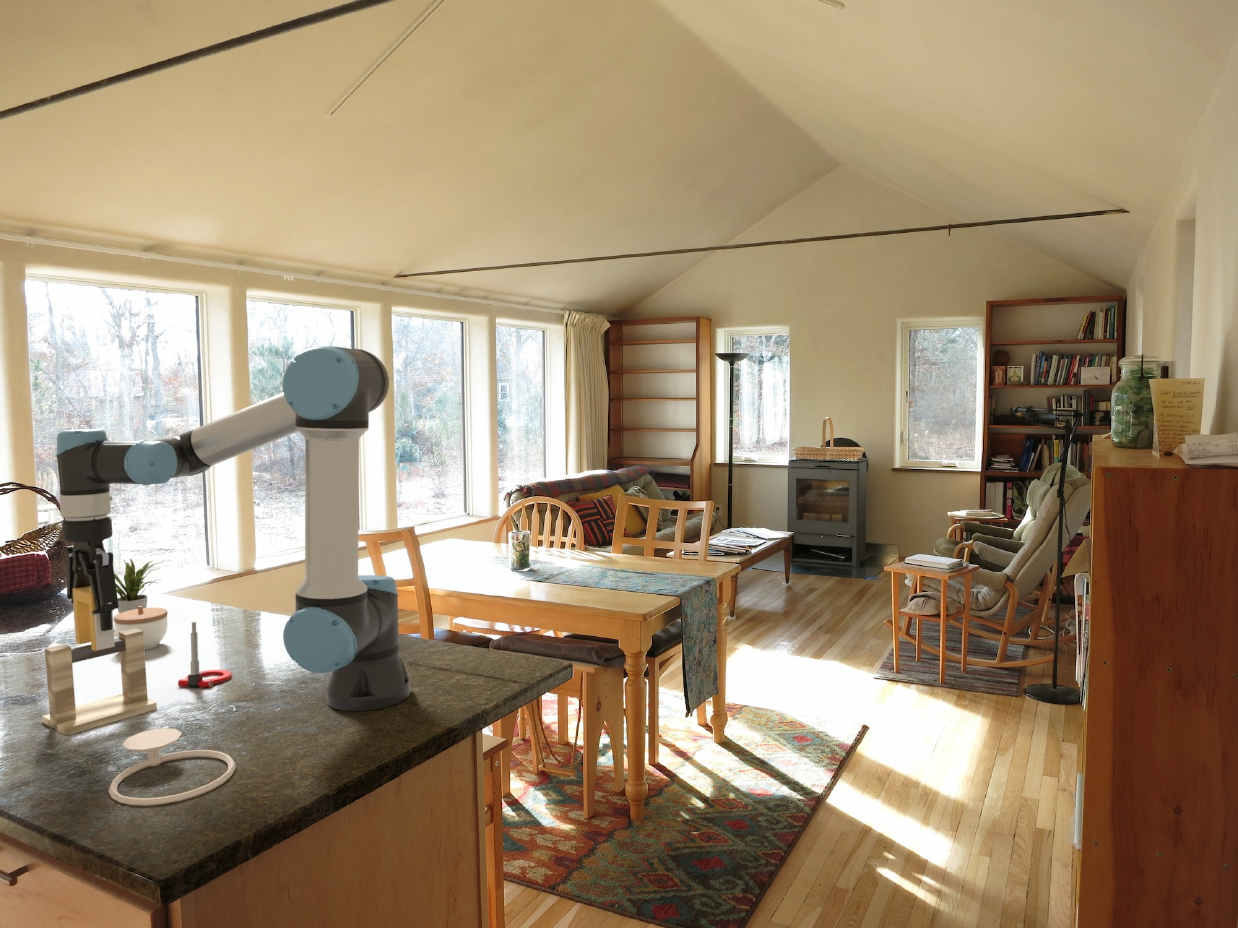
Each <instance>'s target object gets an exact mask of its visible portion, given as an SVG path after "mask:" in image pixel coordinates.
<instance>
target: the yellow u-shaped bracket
mask: <svg viewBox="0 0 1238 928" xmlns="http://www.w3.org/2000/svg"><path fill="white" fill-rule="evenodd" d="M73 602H74V604H73V605H74V608H73V618H74V617H75V623H74V633H75V632H76V638H75V642H76V644H78V645H83V644H87V643H90V645H91V648H92V650H94V651H97V650H96V637H95V621H94V614H93V613H92V611H94V610H96V607H95V602H94V594H92V590H91V586H86V587H81V588H73ZM101 650H102V649H101Z"/></svg>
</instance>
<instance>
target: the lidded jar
mask: <svg viewBox="0 0 1238 928" xmlns="http://www.w3.org/2000/svg"><path fill="white" fill-rule="evenodd" d="M113 623H114V629H115V631H114V632H115V634H116V637H117V638H116V639H118V638H119V632H122V631H126V630H131V629H135V628H136V629H139V630H142V631H143V637H144V651H145V650H146V651H147V650H152V649H154V648H156V647H158V646H159V643H160V642H161V641H162V640H163V639H164V638H165V636H166V633H167V630H168V629H167V628H168V610H167V609H166V608H163V607H146V608H143V606H138V609H134V610H129V611H125V612H122V613H119V612H118V613H117V614H115V615H113Z"/></svg>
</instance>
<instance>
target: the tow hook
mask: <svg viewBox="0 0 1238 928" xmlns="http://www.w3.org/2000/svg"><path fill="white" fill-rule="evenodd" d="M198 646H199V641H198V632H197V621H192V622H191V632H190V649H191V650H190V652H191V653H190V655H191V656H190V657H191V661H190V674H187V676H186V677H185V679H184V678H180V679H179V680H178V681H177V686H178V687H185V688H186V687H187V688H198V689H199V688H206V689H207V688H209V689H210V688H212V686H213V685H215V684H220V683H224V682H226V681H228V680H230V679H231V678H232V672H231V671H229V670H225V669H208V670H201V671H200V660H199V647H198ZM208 676H218V677H215V678H207V679H203V677H208Z"/></svg>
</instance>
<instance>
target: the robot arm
mask: <svg viewBox="0 0 1238 928" xmlns="http://www.w3.org/2000/svg"><path fill="white" fill-rule="evenodd" d="M388 373H389V372H388V371H387V368H386V366H385V365H384V364H383V362H382V361H381V360H380V359H379V357H377V356H376V355H374V354H373V353H372V352H369V351H368V350H364V349H361V348H348V347H340V346H334V345H333V346H332V345H325V346H314V347H310V348H307V349H304V350H303V351H301V352H300V353H298V354H297V355H296V356H295V357H294V358H292V359H291V361H290V362H289V363H288V365H287V367H286V369H285V371H284V375H283V378H282V393H279V394H277V395H274V396H272V397H269V398H267V399H265V400H264V399H263V400H261V401H260V402H257V403H255V404H252V405H250V406H249V405H248V406H247V407H244V408H243V409H239V410H237V411H235V412H233V413H230V414H227V415H225V416H222V417H221V418H217V419H215V420H213V421H210V422H208V423H205V424H203V425H201V426H198V427H196V428H194V429H192V430H188V431H186V432H183V433H181V434H179V435H174V436H172V437H170V436H169V437H161V438H151V439H140V440H118V441H117V440H116V441H115V440H109V439H108V437H107V432H106V430H104V429H101V428H100V429H99V428H97V429H96V428H87V429H86V428H84V429H83V428H82V429H80V428H79V429H65V430H62V431H59V432H58V434H57V436H56V454H55V458H56V463H57V470H58V480H59V508H60V510H59V511H60V516H61V517H62V518H64V519H63V520H62V521H61V531H62V533H61V534H62V540H63V541H64V542H66V543H73V545H69V546H68V545H67V546H66V547H65V555H66V598H67V599H68V600H71V601H70V602H71V604H72V605H73V607H72V608H73V609H74V602H73V588H81V587H86V586H91V590H92V594H94V602H95V607H96V610H94V611H92V613H93V614H94V621H95V637H96V650H101V649H106V648H110V647H115V644H114V639H115V631H114V629H115V627H114V615H113V611H114V610H118V607H119V604H118V598H119V597H118V593H117V590H118V589H117V588H116V584H117V583H116V579H115V576H114V573H115V570H114V568H115V567H114V554H113V552H112V551H111V552H106V550H105V547H104V546H105V545H104V540H107V539H110V538H111V537H113V521H112V520H113V519H112V517H111V516H108V515H109V514H110V513H111V511H112V510H111V509H112V508H111V507H112V506H111V501H113V496H111V495H110V493H111V492H110V485H111V484H113V485H114V484H123V485H126V484H127V485H141V486H142V485H143V486H149V485H159V484H161V485H162V484H165V483H168V482H169V481H170V479H174V478H180V477H192V476H196V475H200V474H201V473H205V472H206V471H208V470H210V469H211V467H212V466H215V465H217V464H220V463H222V462H225V461H227V460H230V459H232V458H235V457H237V456H239V455H242V454H246V453H247V452H250V451H252V450H256V449H258V448H260V447H263V446H265V445H268V444H270V443H273V442H276V441H279V440H281V439H283V438H285V437H289V436H290V435H293V434H296V433H298V432H299V433H300V434H301V435H302V436H303V437H304V441H305V442H304V444H305V445H304V446H305V449H304V453H305V454H304V457H305V458H304V463H305V465H304V467H305V468H304V470H305V471H304V476H305V477H304V478H305V479H304V482H305V483H304V484H305V485H304V487H305V488H304V491H305V492H304V498H305V499H304V500H305V501H304V502H305V503H304V505H305V506H304V509H305V511H304V523H305V524H304V580H303V582H301V583H300V584H299V585H298V587H296V588H295V611H294V613H292V614H291V616H290V617H289V618H288V620H287V622H286V623H285V625H284V628H283V633H282V640H283V645H284V648H285V650H286V653H287V654H288V656H289V657H290V659H291V660H293V661H294V662H295V663H296V664H297V665H298V666H299V667H300V668H302V669H304V670H305V671H308V672H311V673H314V674H327V673H330V677H329V681H328V685H327V687H326V694H325V695H326V704H327V705H328V706H329V707H331V708H332V709H335V710H338V711H339V710H340V711H346V712H367V711H375V710H380V709H384V708H385V709H386V708H388V707H392V706H395V705H397V704H399V703H402V702H403V701H406V700H407V699H408V697H410V695H411V681H410V677H409V675H408V673H407V670H406V666H405V664H404V663H403V659H402V657H401V653H400V635H399V633H400V631H399V605H398V604H399V600H398V597H399V593H398V587H397V582H396V579H394V577H392V576H389V575H379V574H373V575H372V574H371V575H370V574H368V575H365V574H364V575H363V574H362V575H361V574H360V575H359V525H360V524H359V523H360V522H359V520H360V519H359V517H360V516H359V511H360V510H359V508H360V507H359V506H360V505H359V503H360V497H359V495H360V494H359V493H360V492H359V491H360V485H359V484H360V438H361V437H362V436H363V435H364V434H365V433H366V432H367V431H368V430H369V429H370V428H369V425H370V424H369V423H370V422H369V421H370V419H369V418H370V417H369V416H370V414H369V413H371V412H373V411H375V410H376V409H377V408H379V407H381V405H382V404H383V402H385V400H386V397H387V396H388V394H389V393H388V392H389V389H390V377H389V374H388ZM116 589H117V590H116ZM73 620H74V624H75V617H74V616H73ZM74 635H75V639H76V632H75V631H74Z"/></svg>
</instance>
